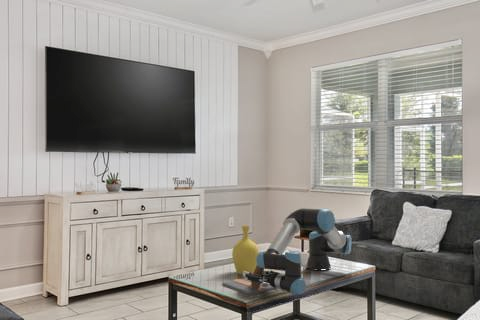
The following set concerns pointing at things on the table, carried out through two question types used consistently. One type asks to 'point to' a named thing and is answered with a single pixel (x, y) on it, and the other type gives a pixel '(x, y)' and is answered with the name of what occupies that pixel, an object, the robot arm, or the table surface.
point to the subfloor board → (247, 286)
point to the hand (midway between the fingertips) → (250, 272)
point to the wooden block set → (258, 272)
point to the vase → (245, 254)
